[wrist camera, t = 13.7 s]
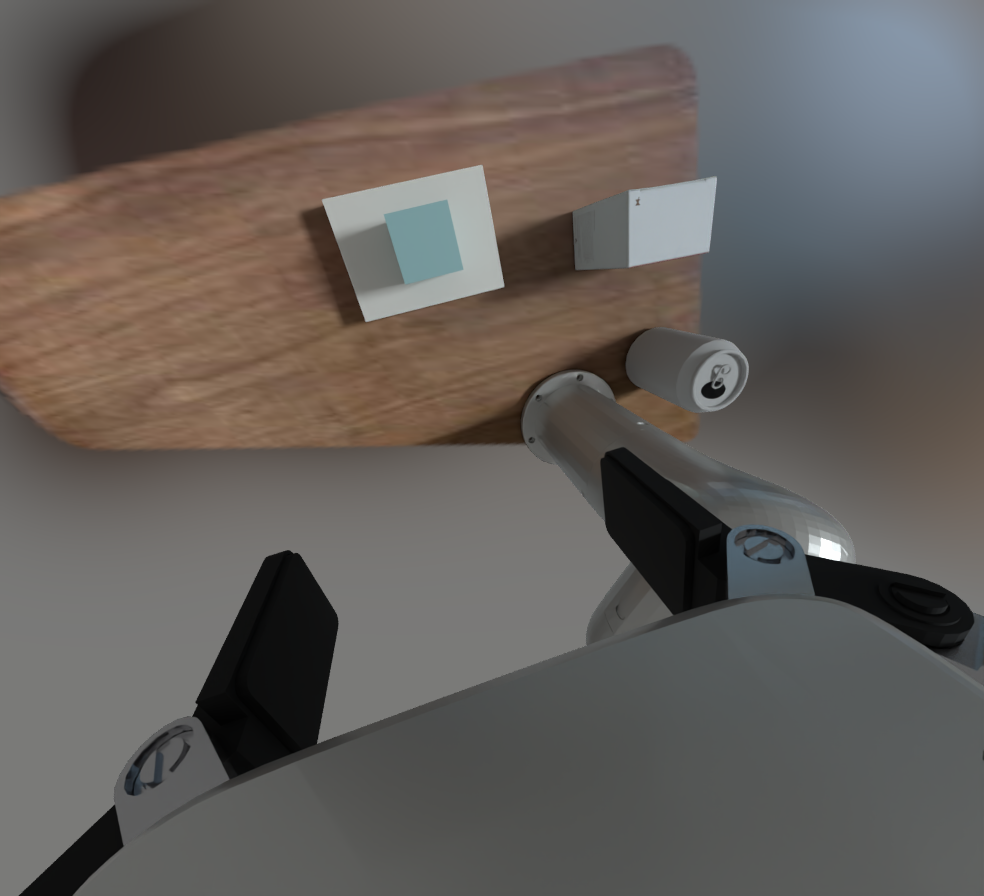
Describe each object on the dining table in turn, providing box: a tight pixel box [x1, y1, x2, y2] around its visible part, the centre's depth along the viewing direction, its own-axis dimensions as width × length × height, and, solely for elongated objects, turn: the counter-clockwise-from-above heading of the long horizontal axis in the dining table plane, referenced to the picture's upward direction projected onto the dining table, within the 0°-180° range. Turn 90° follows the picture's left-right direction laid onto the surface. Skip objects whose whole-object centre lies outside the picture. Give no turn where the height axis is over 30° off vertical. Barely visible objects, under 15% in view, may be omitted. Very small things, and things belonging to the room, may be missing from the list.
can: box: [626, 327, 749, 413], centre depth 41 cm, size 8×8×12 cm
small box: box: [573, 176, 717, 270], centre depth 34 cm, size 8×6×10 cm
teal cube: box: [384, 200, 464, 285], centre depth 31 cm, size 5×5×5 cm
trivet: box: [322, 165, 504, 322], centre depth 35 cm, size 14×10×2 cm
